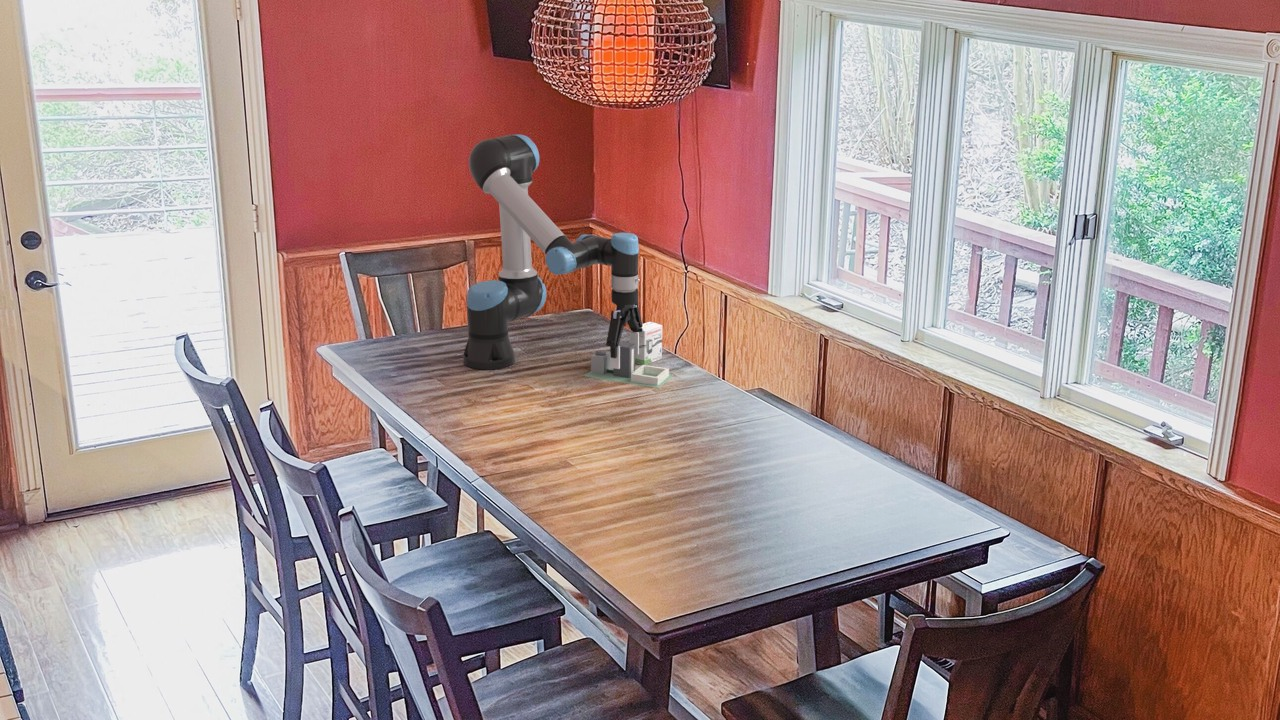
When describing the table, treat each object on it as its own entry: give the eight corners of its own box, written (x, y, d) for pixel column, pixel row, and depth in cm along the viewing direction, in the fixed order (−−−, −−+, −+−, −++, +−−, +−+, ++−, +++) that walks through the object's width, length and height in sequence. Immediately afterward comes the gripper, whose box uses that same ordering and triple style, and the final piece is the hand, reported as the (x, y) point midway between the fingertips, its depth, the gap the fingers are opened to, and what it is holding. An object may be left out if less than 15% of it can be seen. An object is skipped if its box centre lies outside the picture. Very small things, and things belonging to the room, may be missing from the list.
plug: (613, 375, 355) (613, 345, 352) (618, 371, 359) (619, 341, 356) (629, 378, 353) (629, 348, 350) (635, 373, 357) (635, 343, 354)
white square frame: (630, 381, 351) (630, 374, 350) (643, 371, 359) (643, 364, 358) (657, 385, 348) (657, 378, 347) (669, 375, 356) (669, 368, 355)
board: (583, 380, 355) (583, 376, 354) (601, 367, 365) (601, 363, 365) (658, 392, 346) (658, 388, 346) (674, 378, 357) (674, 374, 356)
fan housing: (590, 371, 358) (590, 353, 356) (598, 366, 362) (598, 348, 360) (610, 375, 355) (610, 356, 354) (617, 369, 360) (617, 351, 358)
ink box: (644, 369, 364) (644, 331, 360) (631, 365, 367) (631, 327, 363) (662, 362, 370) (663, 324, 366) (649, 358, 373) (650, 320, 369)
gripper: (619, 301, 335) (619, 376, 342) (654, 279, 357) (653, 349, 364) (593, 298, 338) (594, 372, 345) (630, 276, 360) (629, 346, 367)
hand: (624, 360), depth 355 cm, fingers open, 13 cm apart
